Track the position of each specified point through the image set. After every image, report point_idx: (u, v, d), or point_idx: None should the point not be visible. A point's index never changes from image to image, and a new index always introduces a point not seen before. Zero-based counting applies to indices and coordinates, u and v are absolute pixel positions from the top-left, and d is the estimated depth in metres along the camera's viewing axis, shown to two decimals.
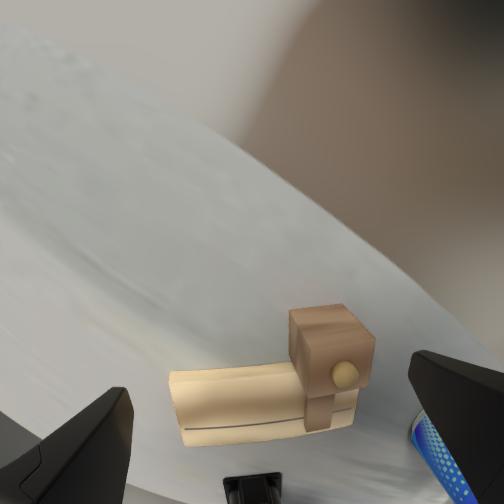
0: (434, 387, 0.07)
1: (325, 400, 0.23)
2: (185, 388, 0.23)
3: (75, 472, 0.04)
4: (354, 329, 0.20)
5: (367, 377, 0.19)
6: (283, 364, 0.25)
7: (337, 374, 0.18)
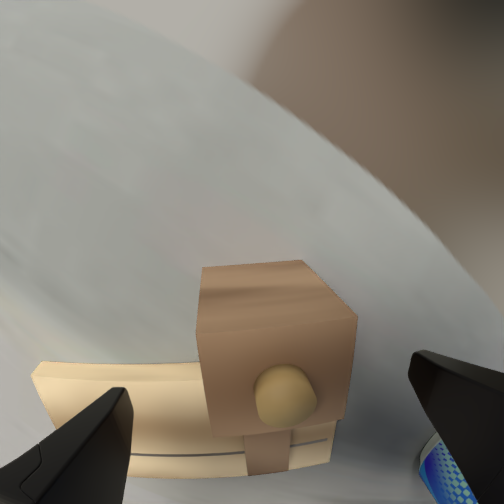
0: (434, 387, 0.07)
1: None
2: (53, 388, 0.13)
3: (75, 472, 0.04)
4: (313, 297, 0.10)
5: (342, 401, 0.09)
6: None
7: (260, 396, 0.08)
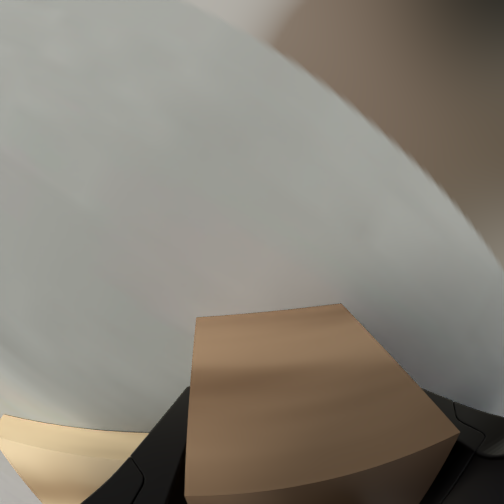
0: None
1: None
2: (17, 451, 0.08)
3: (182, 481, 0.04)
4: (382, 392, 0.05)
5: None
6: None
7: None
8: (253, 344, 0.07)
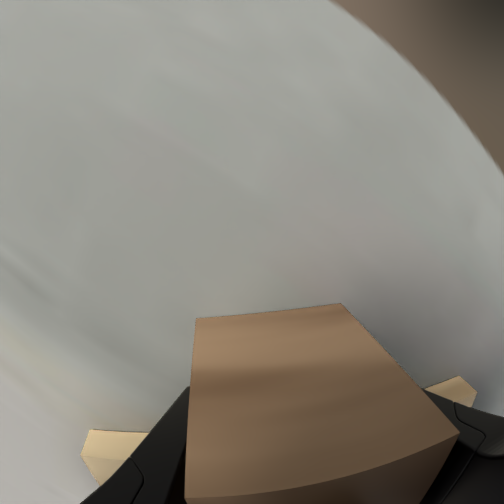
0: None
1: None
2: None
3: (181, 481, 0.04)
4: (381, 392, 0.05)
5: None
6: None
7: None
8: (253, 345, 0.07)
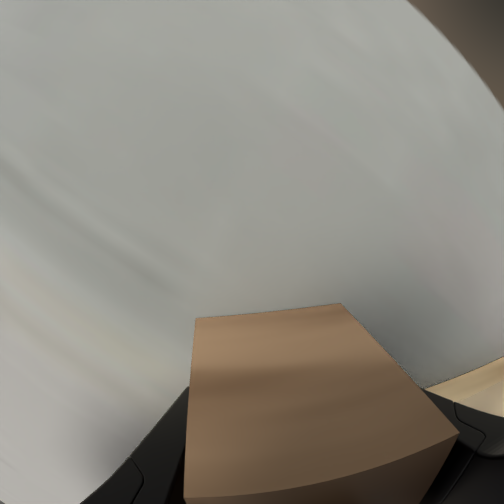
0: None
1: None
2: None
3: (181, 482, 0.04)
4: (381, 392, 0.05)
5: None
6: None
7: None
8: (252, 345, 0.07)
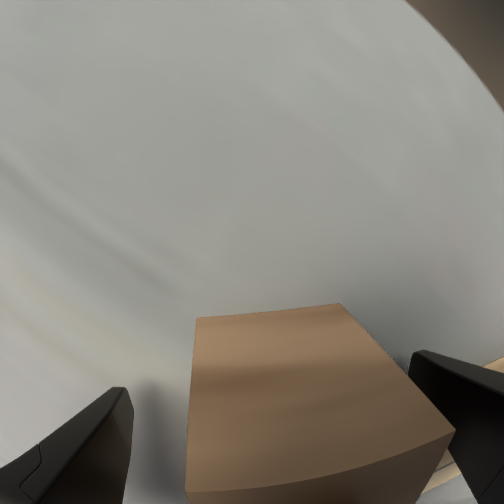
0: (434, 387, 0.07)
1: None
2: None
3: (75, 472, 0.04)
4: (379, 390, 0.05)
5: None
6: None
7: None
8: (252, 343, 0.08)
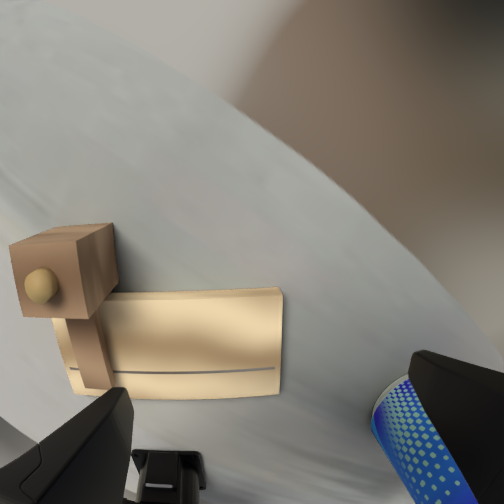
0: (434, 387, 0.07)
1: (89, 345, 0.18)
2: None
3: (75, 472, 0.04)
4: (75, 235, 0.15)
5: (82, 302, 0.14)
6: (177, 292, 0.20)
7: (26, 279, 0.12)
8: (62, 230, 0.17)
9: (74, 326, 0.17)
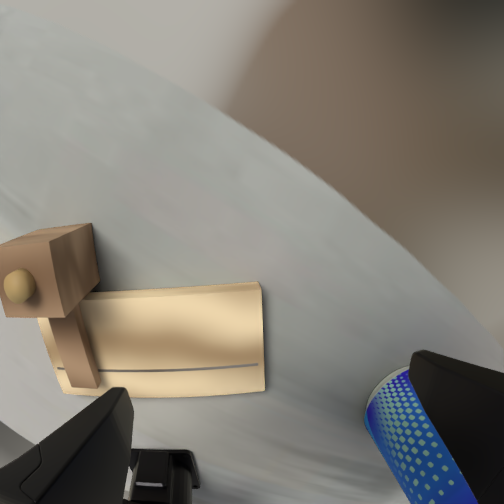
0: (434, 387, 0.07)
1: (72, 344, 0.18)
2: None
3: (75, 472, 0.04)
4: (51, 236, 0.14)
5: (58, 301, 0.14)
6: (156, 290, 0.20)
7: (5, 280, 0.12)
8: (42, 232, 0.17)
9: (57, 325, 0.17)
